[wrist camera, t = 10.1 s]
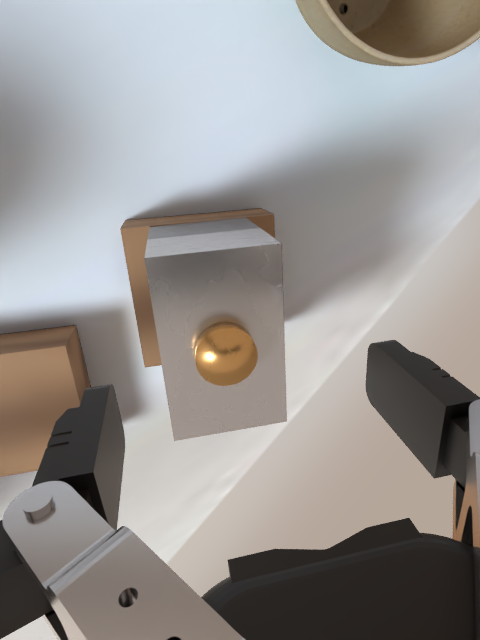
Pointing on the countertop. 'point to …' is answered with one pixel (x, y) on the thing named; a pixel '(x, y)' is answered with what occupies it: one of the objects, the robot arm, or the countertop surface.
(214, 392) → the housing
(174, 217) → the stand
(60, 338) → the stand
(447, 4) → the beige round bowl
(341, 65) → the countertop surface
